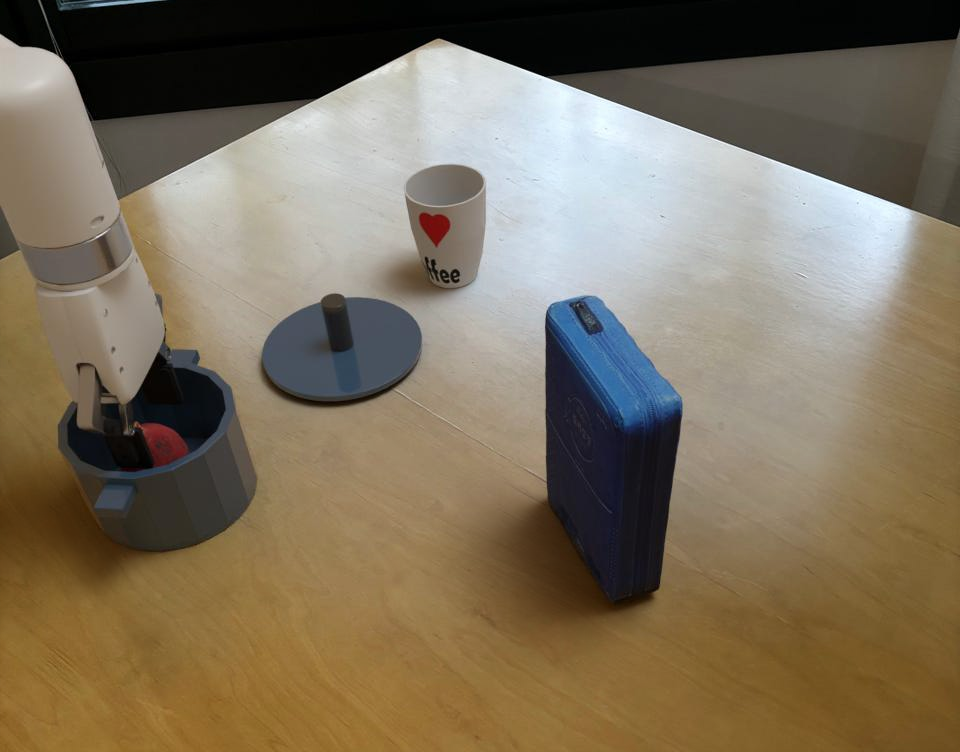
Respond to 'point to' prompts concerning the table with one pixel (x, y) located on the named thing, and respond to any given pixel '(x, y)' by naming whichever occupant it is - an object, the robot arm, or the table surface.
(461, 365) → the table surface
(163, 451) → the red pomegranate
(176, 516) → the pot
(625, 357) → the blue case
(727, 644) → the table surface
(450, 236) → the cup
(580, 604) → the table surface
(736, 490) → the table surface
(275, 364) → the lid
